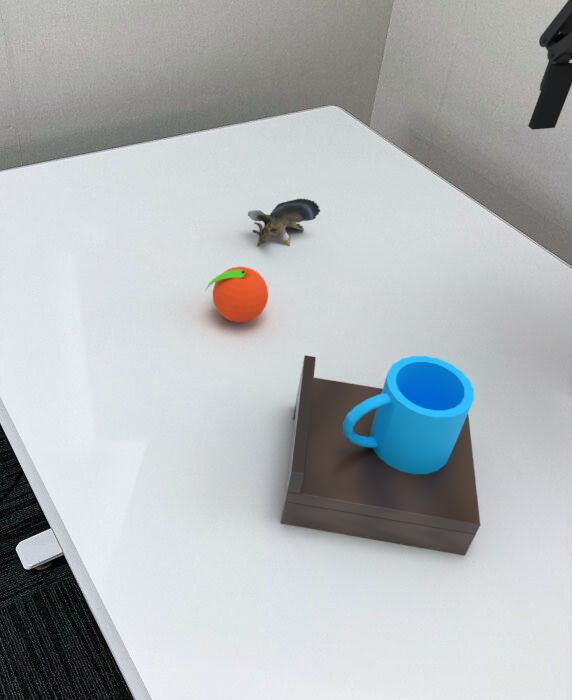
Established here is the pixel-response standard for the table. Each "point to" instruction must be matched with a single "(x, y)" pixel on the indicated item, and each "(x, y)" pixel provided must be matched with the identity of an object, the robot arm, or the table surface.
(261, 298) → the clementine
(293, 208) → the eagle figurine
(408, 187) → the table surface
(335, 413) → the dark wooden box
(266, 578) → the table surface
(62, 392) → the table surface
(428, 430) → the mug
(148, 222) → the table surface
